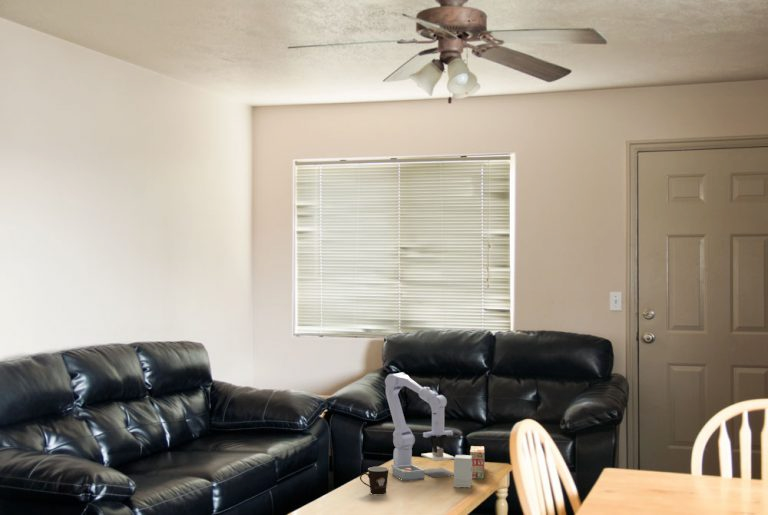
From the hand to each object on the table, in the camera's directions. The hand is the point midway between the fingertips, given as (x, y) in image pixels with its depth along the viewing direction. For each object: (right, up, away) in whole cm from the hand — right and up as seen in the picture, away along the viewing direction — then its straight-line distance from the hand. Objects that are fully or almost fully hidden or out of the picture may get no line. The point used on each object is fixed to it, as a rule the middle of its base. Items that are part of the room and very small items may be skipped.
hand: (437, 451), depth 409 cm
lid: (0, -3, 0) cm, 3 cm away
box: (-14, -10, -9) cm, 19 cm away
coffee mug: (-29, -9, -36) cm, 47 cm away
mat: (0, -10, 0) cm, 10 cm away
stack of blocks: (+18, -10, 0) cm, 21 cm away
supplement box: (+9, -10, -23) cm, 27 cm away
